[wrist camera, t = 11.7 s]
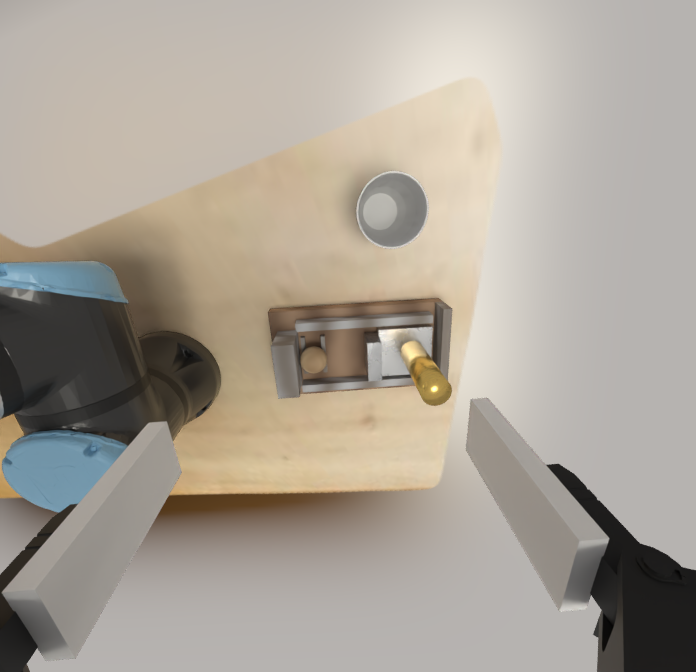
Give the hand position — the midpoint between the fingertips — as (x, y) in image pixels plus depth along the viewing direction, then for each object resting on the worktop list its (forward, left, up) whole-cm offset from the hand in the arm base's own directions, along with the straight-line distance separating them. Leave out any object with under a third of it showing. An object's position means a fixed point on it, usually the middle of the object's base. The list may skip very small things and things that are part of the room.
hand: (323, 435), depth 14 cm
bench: (+4, -11, -37) cm, 39 cm away
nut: (-3, -11, -34) cm, 36 cm away
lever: (+10, -11, -34) cm, 37 cm away
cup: (+8, +9, -37) cm, 39 cm away
